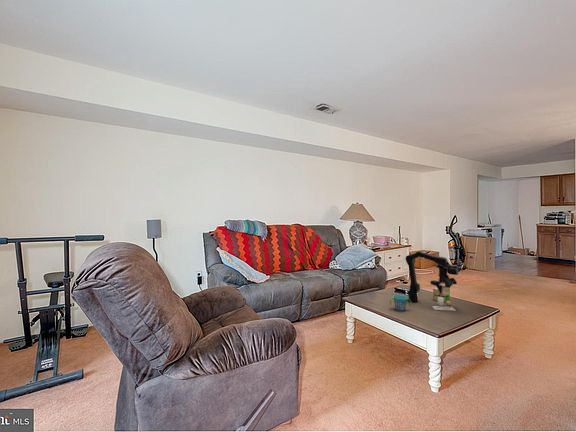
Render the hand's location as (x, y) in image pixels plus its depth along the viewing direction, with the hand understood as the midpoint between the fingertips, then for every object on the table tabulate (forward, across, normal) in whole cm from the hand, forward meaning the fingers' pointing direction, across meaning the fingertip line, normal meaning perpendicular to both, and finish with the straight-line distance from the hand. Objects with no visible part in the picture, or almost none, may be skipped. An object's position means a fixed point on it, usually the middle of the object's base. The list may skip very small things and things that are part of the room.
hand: (443, 293), depth 220 cm
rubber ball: (+12, +8, +5) cm, 15 cm away
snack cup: (+11, -36, +2) cm, 37 cm away
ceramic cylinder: (+12, +2, +7) cm, 14 cm away
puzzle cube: (+12, +10, +18) cm, 24 cm away
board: (+12, -2, -2) cm, 12 cm away
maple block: (+1, 0, 0) cm, 1 cm away
